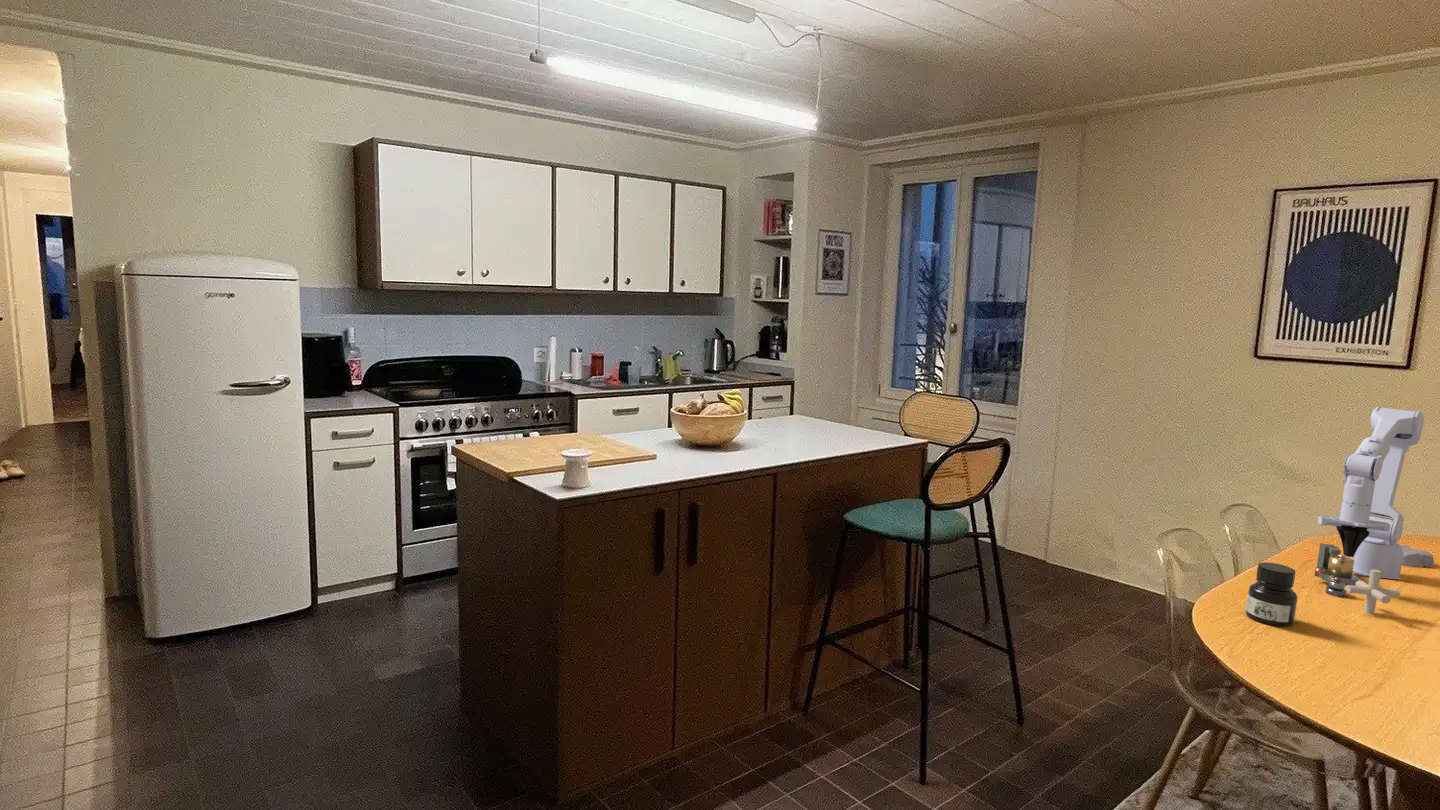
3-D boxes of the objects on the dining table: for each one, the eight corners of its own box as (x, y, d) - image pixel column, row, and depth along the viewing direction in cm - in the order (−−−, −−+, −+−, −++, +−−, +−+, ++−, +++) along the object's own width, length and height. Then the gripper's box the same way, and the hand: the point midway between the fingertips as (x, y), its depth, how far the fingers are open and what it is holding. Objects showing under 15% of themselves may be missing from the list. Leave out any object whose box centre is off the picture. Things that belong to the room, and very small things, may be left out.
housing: (1346, 572, 205) (1349, 553, 204) (1355, 578, 200) (1358, 559, 200) (1324, 569, 207) (1326, 550, 206) (1331, 575, 202) (1334, 556, 201)
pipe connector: (1408, 623, 176) (1415, 580, 175) (1357, 618, 178) (1364, 575, 177) (1380, 606, 186) (1387, 565, 185) (1332, 601, 188) (1339, 561, 186)
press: (1337, 570, 211) (1341, 545, 210) (1361, 586, 199) (1365, 559, 198) (1307, 567, 213) (1311, 542, 212) (1329, 582, 201) (1333, 556, 200)
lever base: (1340, 592, 195) (1343, 576, 194) (1349, 598, 191) (1351, 582, 190) (1322, 590, 196) (1324, 574, 195) (1330, 595, 192) (1332, 580, 191)
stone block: (1401, 573, 217) (1438, 568, 216) (1400, 556, 216) (1437, 551, 216) (1366, 560, 229) (1401, 555, 228) (1365, 544, 228) (1400, 539, 228)
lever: (1324, 575, 202) (1325, 567, 202) (1346, 591, 191) (1348, 583, 191) (1310, 574, 203) (1311, 566, 202) (1332, 589, 192) (1333, 581, 192)
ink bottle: (1235, 615, 177) (1242, 563, 176) (1254, 607, 182) (1261, 557, 180) (1284, 631, 169) (1292, 577, 168) (1303, 623, 174) (1311, 571, 172)
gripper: (1330, 503, 193) (1322, 557, 195) (1400, 509, 189) (1391, 564, 191) (1317, 496, 200) (1309, 548, 202) (1384, 502, 196) (1375, 555, 198)
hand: (1348, 555), depth 197 cm, fingers closed
